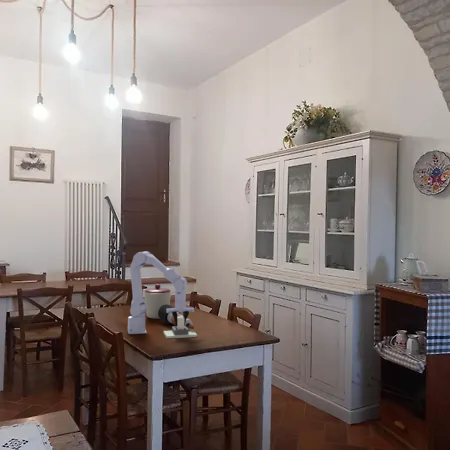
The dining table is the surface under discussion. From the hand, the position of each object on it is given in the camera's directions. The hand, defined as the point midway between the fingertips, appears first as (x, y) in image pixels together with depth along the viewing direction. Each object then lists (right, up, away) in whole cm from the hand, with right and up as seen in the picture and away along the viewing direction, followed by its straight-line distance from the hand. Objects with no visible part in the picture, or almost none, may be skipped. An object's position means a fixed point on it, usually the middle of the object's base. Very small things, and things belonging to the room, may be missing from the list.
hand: (180, 325), depth 253 cm
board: (0, -5, 0) cm, 5 cm away
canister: (-19, -5, +47) cm, 51 cm away
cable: (-3, -5, +18) cm, 19 cm away
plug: (0, -2, 0) cm, 2 cm away
